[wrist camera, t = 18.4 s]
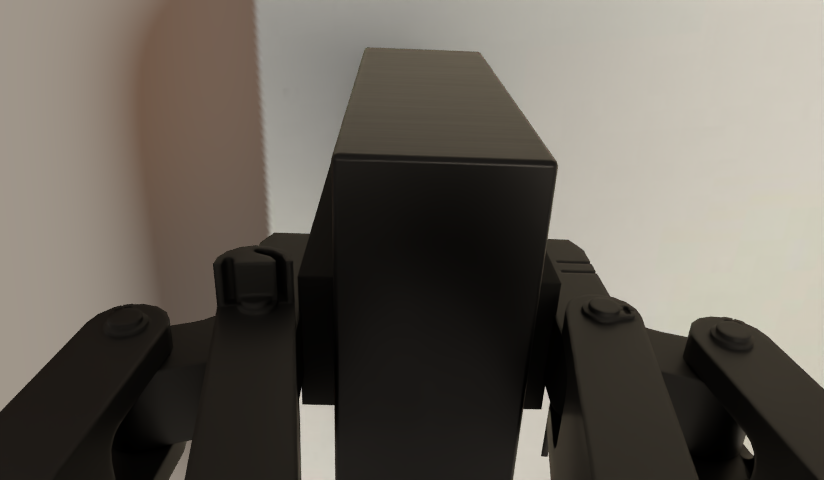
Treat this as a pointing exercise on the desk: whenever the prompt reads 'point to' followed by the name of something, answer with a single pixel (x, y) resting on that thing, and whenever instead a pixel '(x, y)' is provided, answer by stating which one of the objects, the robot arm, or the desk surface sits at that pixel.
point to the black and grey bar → (434, 268)
